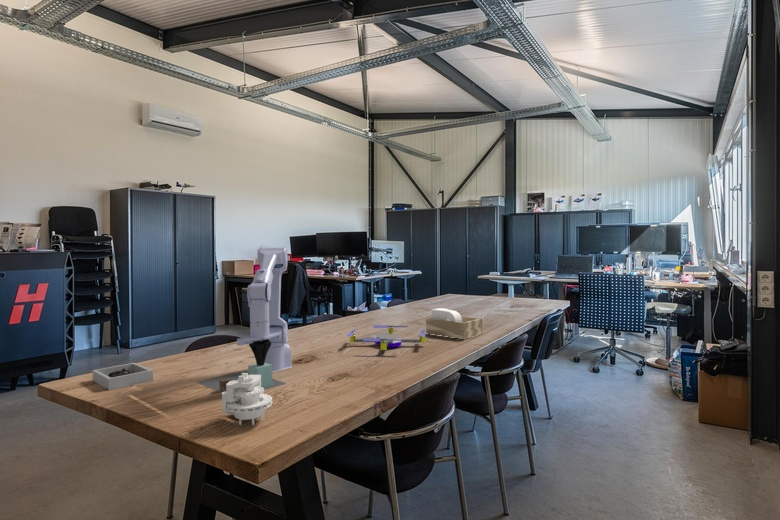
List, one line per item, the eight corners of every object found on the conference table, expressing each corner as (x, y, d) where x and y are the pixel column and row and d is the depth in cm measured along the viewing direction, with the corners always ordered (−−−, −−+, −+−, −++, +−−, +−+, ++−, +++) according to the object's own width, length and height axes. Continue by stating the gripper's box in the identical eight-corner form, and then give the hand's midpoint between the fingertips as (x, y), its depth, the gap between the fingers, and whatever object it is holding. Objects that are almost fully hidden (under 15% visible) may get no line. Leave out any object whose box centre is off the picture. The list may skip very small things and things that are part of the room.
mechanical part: (253, 432, 106) (252, 382, 105) (213, 425, 110) (212, 378, 110) (281, 415, 116) (281, 370, 116) (244, 410, 120) (243, 366, 120)
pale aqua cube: (263, 382, 143) (262, 362, 143) (272, 385, 140) (272, 364, 140) (248, 386, 139) (248, 365, 139) (257, 389, 136) (257, 368, 136)
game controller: (106, 376, 152) (120, 362, 154) (119, 385, 154) (133, 372, 156) (102, 383, 143) (118, 369, 145) (116, 393, 145) (131, 379, 147)
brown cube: (227, 388, 138) (227, 378, 138) (231, 389, 136) (231, 380, 136) (219, 390, 136) (219, 380, 136) (223, 391, 134) (223, 382, 134)
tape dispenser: (431, 334, 225) (431, 309, 225) (445, 331, 232) (445, 307, 232) (455, 338, 213) (455, 312, 213) (470, 335, 220) (470, 310, 219)
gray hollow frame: (135, 372, 159) (134, 362, 159) (153, 380, 149) (152, 370, 149) (92, 380, 149) (92, 370, 149) (109, 390, 139) (108, 379, 139)
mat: (246, 372, 158) (246, 370, 158) (287, 385, 142) (287, 383, 142) (196, 384, 145) (196, 382, 145) (235, 399, 129) (235, 397, 129)
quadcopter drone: (357, 334, 217) (357, 324, 216) (426, 335, 213) (426, 325, 213) (342, 350, 183) (342, 338, 183) (424, 352, 180) (424, 339, 179)
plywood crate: (445, 329, 236) (445, 314, 236) (482, 334, 222) (482, 318, 221) (426, 334, 223) (426, 318, 223) (464, 340, 209) (464, 323, 209)
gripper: (245, 326, 131) (246, 372, 131) (286, 319, 142) (287, 362, 142) (233, 323, 136) (234, 367, 136) (273, 317, 147) (274, 358, 147)
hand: (260, 364), depth 139 cm, fingers closed
